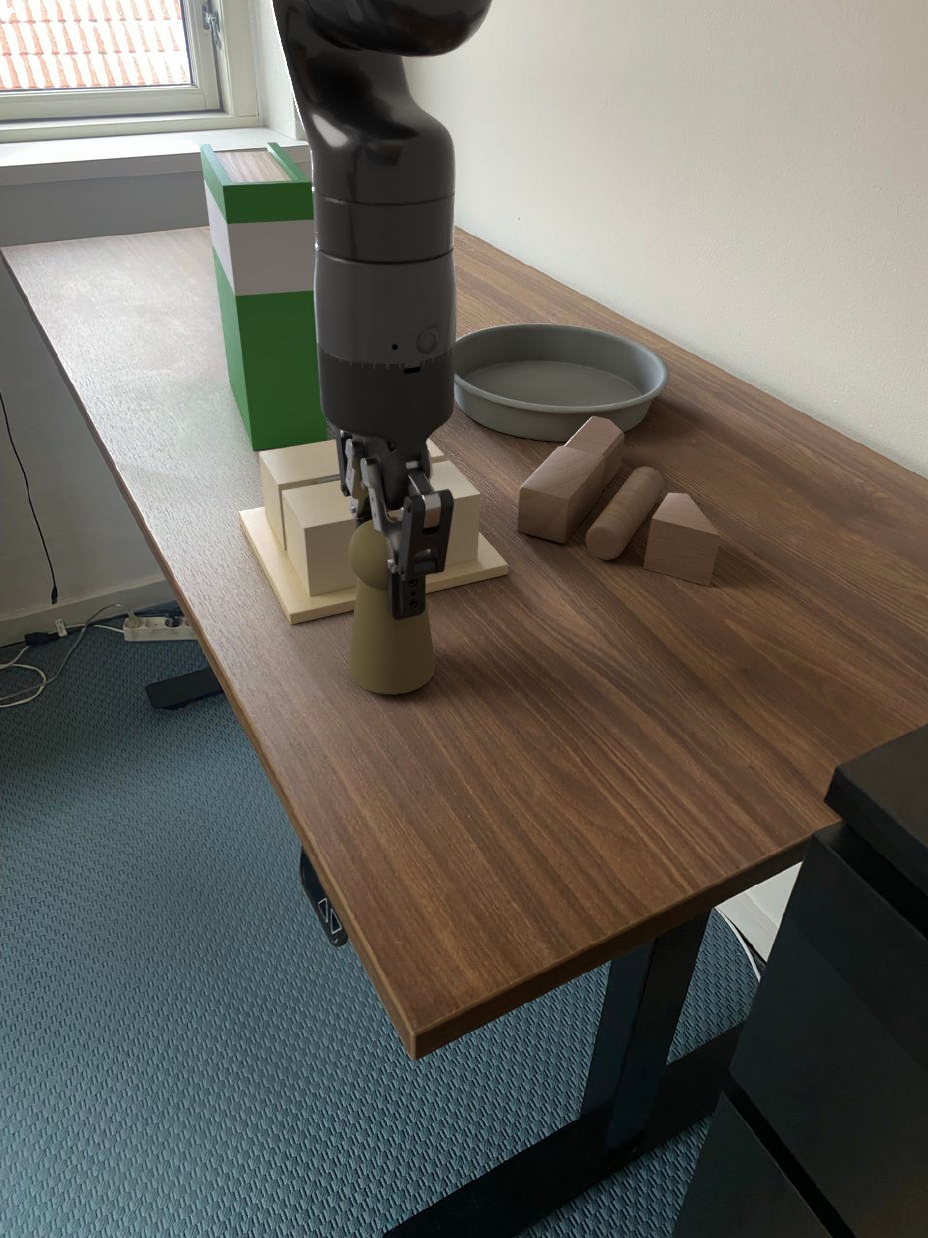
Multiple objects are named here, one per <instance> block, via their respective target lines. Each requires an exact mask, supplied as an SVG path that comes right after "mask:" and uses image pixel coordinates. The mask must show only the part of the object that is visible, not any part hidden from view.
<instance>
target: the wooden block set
mask: <svg viewBox="0 0 928 1238" xmlns="http://www.w3.org/2000/svg"><path fill="white" fill-rule="evenodd" d="M624 443H625V432H622V431H621V430H620V429H619V428H618V427H617V426H616V425H615V424H614V423H613V422H612V421H611V420H610V419H606V418H601V417H596V416H592V417H591V418H590V419H589V420H588V421H587V422H586V423H585V424H584V425H583V426H582V427H581V428H580V429H579V430H578V431H577V432H576V433H575V434H574V436H573V437H572V438H571V439H570V440H569V441H568V442H565V444H564V445H559V446H557V447H556V448H555V449H554V450H553V452H551V453H550V455H549V456H547V458H546V459H545V460H544V461H543V462H542V463H541V464H540V465H539V466H538V467H537V469H536V470H534V471H533V473H531V475H530V476H529V477H528V478H527V479H526V480H525V481H524V482H523V483H522V484H521V486H520V487H519V494H518V495H519V497H518V509H517V523H516V529H517V532H519V533H521V534H523V535H527V536H531V537H535V538H538V539H542V540H545V541H549V542H553V543H557V544H559V545H562V544H563V545H564V544H566V543H567V542H568V540H570V538H571V537H572V535H573V534H574V533H575V531H576V530H577V529H578V528H579V526H580V525H581V524H582V523H583V521H584V520H585V519H586V517H587V516H588V515H589V514H590V513H591V511H592V510H593V508H595V506H596V504H597V503H598V502H599V501H600V500H601V497H602V492H603V490H604V489H605V488H606V487H607V486H608V484H609V483H610V482H611V480H612V479H613V478H614V477H615V475H616V474H617V473H618V472H619V470H620V469H621V464H622V457H623V450H624ZM662 475H663V474H661V472H659V471H658V470H657V469H656V468H654V467H651V466H640V467H638V468H636V469H634V470H633V471H632V472H631V473H630V475H629V476H628V478H627V479H626V480H625V482H624V483H623V484H622V485H621V487H620V488H619V489H618V491H617V492H616V493H615V495H613V497H612V499H611V500H610V501H609V502H608V504H607V505H606V507H604V509H603V510H602V512H601V513H600V514H599V515H598V517H597V518H596V519H595V521H594V522H593V523H592V525H591V526H590V528H588V529H587V531H586V534H585V545H586V548H587V549H588V551H589V553H590V554H591V555H593V556H594V557H596V558H597V559H600V560H603V561H609V560H615V559H617V558H618V557H619V556H621V554H622V553H623V552H624V550H625V549H626V547H627V546H628V544H629V543H630V541H632V538H633V537H634V535H635V534H636V532H637V531H638V529H639V528H640V526H641V525H642V524H643V522H644V520H645V519H646V518H647V516H648V514H649V513H650V512H651V510H652V509H653V508H654V506H655V504H656V503H657V501H658V500H659V498H660V497H661V495H663V492H664V490H665V486H666V485H665V480H664V477H663V476H662ZM647 538H648V539H647V544H646V549H645V555H644V561H643V567H642V568H643V569H644V570H648V571H651V572H656V573H659V574H662V575H666V576H669V577H673V578H677V579H681V580H683V581H687V582H691V583H694V584H699V585H702V586H705V587H710V584H711V580H712V576H713V571H714V566H715V561H716V558H717V553H718V549H719V545H720V540H721V534H720V533H719V531H718V530H717V529H716V528H715V527H714V525H713V524H712V523H711V521H710V520H709V519H708V517H707V516H705V514H704V513H703V512H702V510H701V508H700V507H698V505H697V504H696V503H695V501H694V500H693V499H692V497H691V496H690V495H689V494H688V493H684V492H683V493H681V492H668V493H667V495H666V496H665V498H664V499H663V500H662V502H661V503H660V505H659V507H658V508H657V509H656V511H655V512H654V514H653V516H652V517H651V520H650V526H649V531H648V537H647Z"/></svg>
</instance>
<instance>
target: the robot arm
mask: <svg viewBox="0 0 928 1238" xmlns="http://www.w3.org/2000/svg"><path fill="white" fill-rule="evenodd" d="M493 1H494V0H270V4H271V8H272V13H273V19H274V24H275V27H276V32H277V36H278V40H279V44H280V49H281V51H282V54H283V58H284V62H285V67H286V71H287V75H288V79H289V83H290V87H291V90H292V94H293V98H294V101H295V106H296V108H297V112H298V116H299V119H300V122H301V125H302V127H303V130H304V134H305V137H306V141H307V144H308V147H309V152H310V159H311V182H312V194H313V210H314V226H315V242H316V263H315V275H314V307H315V323H316V340H317V356H318V372H319V388H320V405H321V410H322V413H323V415H324V417H325V418H326V421H327V422H328V423H329V424H330V425H332V426H333V429H334V437H335V439H336V446H337V455H338V463H339V472H340V481H341V485H340V487H341V491H342V492H343V495H344V496H345V497H348V496H351V500H350V512H351V514H352V515H353V517H354V518H355V519H356V518H358V519H356V529H357V528H358V527H359V526H360V525H361V524H363V523H365V522H367V521H369V520H372V519H373V523H374V528H375V530H376V531H377V532H378V533H380V534H382V535H383V536H384V541H385V548H386V555H387V565H388V610H389V612H390V614H391V615H392V617H393V618H394V619H395V620H401V619H405V618H410V617H414V616H418V615H420V614H422V613H423V612H424V610H425V594H426V593H425V592H426V575H429V574H433V573H435V574H437V573H441V572H444V569H445V562H446V556H447V549H448V542H449V536H450V529H451V522H452V516H453V509H454V498H453V495H452V493H451V491H450V490H449V489H444V490H438V491H435V490H434V488H433V487H432V485H431V483H430V479H431V477H432V475H433V468H432V461H431V455H430V452H429V450H428V446H427V444H426V442H427V439H428V438H429V439H430V436H432V435H433V433H434V432H435V431H437V430H438V429H439V428H440V427H442V426H444V425H445V424H446V423H447V422H448V421H449V419H450V418H451V417H452V415H453V412H454V407H455V393H454V383H455V351H456V340H457V312H458V309H457V308H458V286H457V285H458V284H457V275H456V265H455V248H454V245H455V244H454V243H455V210H456V209H455V208H456V206H455V205H456V176H457V175H456V172H457V171H456V170H457V169H456V152H455V145H454V140H453V138H452V135H451V133H450V131H449V129H448V128H447V127H446V126H445V124H443V122H441V121H440V120H438V119H437V118H436V117H434V116H432V114H430V113H428V112H427V111H426V110H425V109H423V108H422V107H421V106H420V105H419V104H418V103H417V102H416V101H415V99H414V97H413V96H412V93H411V90H410V87H409V83H408V79H407V74H406V70H405V65H404V59H403V57H407V58H416V59H429V58H434V57H435V58H436V57H442V56H445V55H448V54H450V53H452V52H454V51H456V50H458V49H460V48H462V47H463V46H464V45H465V44H467V43H468V42H469V41H470V40H471V39H472V38H473V37H474V36H475V35H476V34H477V32H478V31H479V30H480V28H481V27H482V25H483V24H484V22H485V20H486V18H487V16H488V14H489V12H490V10H491V6H492V3H493ZM395 510H400V512H401V515H402V516H401V517H396V518H391V519H388V517H389V514H388V513H387V512H391V511H395ZM400 533H401V539H400V550H399V543H398V536H399V534H400Z"/></svg>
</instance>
